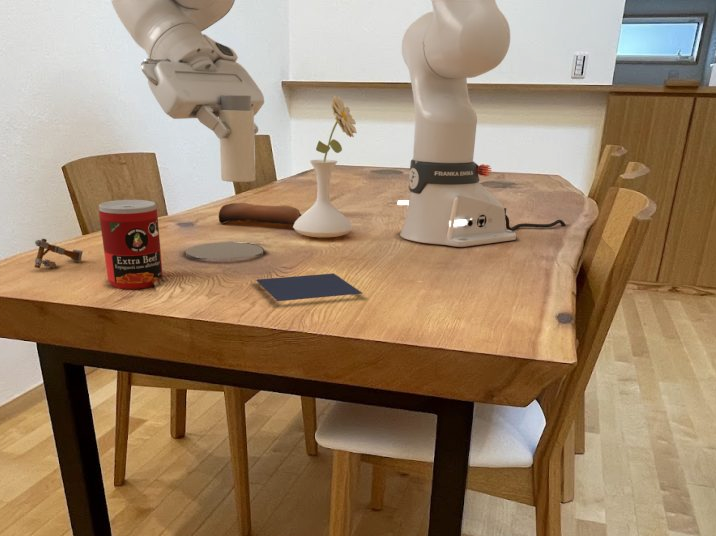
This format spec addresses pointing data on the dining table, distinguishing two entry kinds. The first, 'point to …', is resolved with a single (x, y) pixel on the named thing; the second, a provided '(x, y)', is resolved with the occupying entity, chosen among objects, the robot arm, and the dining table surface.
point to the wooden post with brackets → (42, 244)
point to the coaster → (223, 250)
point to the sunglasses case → (258, 213)
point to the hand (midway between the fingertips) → (240, 134)
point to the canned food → (131, 243)
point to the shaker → (237, 139)
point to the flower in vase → (327, 185)
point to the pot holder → (307, 287)
